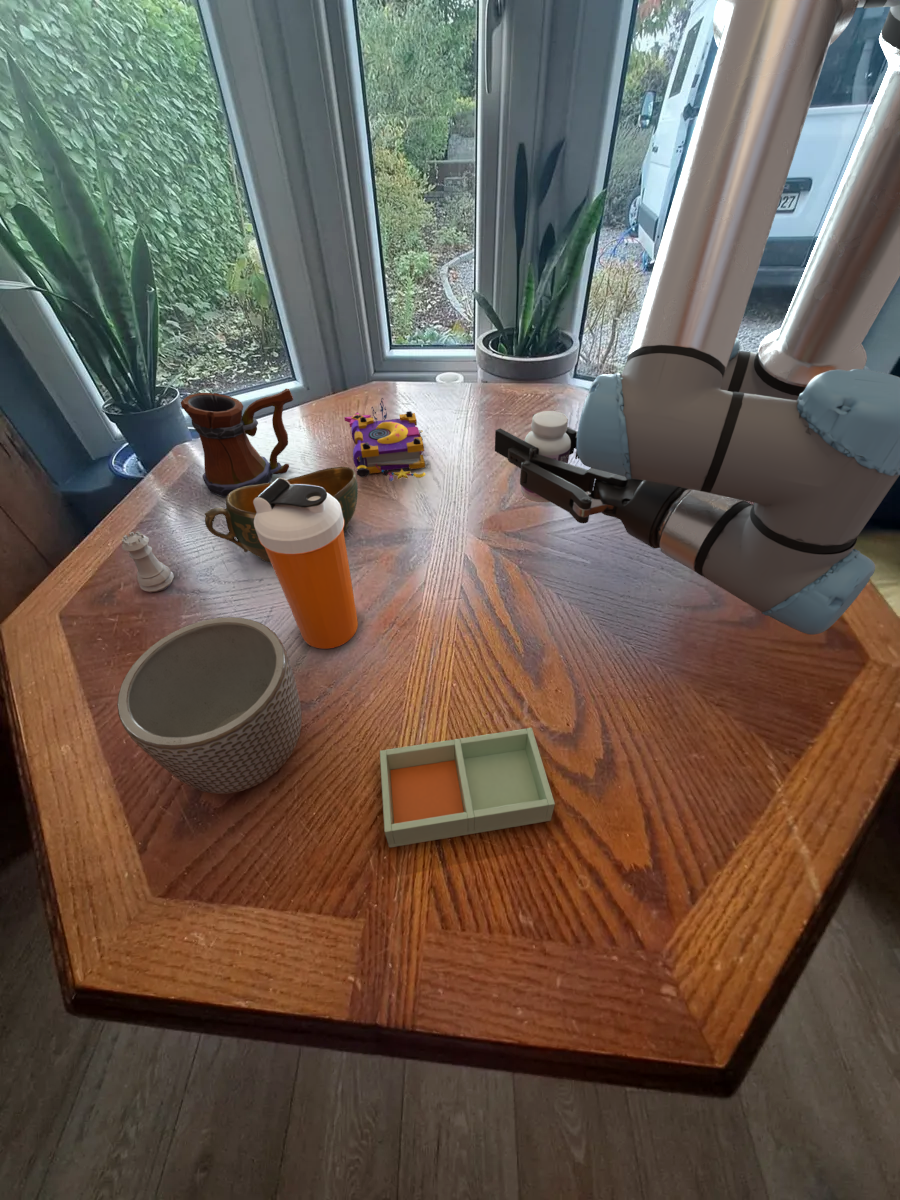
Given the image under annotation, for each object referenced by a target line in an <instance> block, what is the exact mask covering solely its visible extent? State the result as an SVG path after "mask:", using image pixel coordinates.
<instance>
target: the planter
mask: <svg viewBox="0 0 900 1200" xmlns="http://www.w3.org/2000/svg"><path fill="white" fill-rule="evenodd" d="M290 660H291V659H290V658H289V655H288V652H287V650H286V648H285V646H284V644H283V642H282V640H281V639H280V637H279V636H278V635H277V634H276V633H275V632H274V631H273V630H272V629H271V628H270V627H269V626H267V625H265V624H263V623H261V622H259V621H256V620H253V619H249V618H244V617H237V616H234V617H233V616H224V617H215V618H208V619H205V620H200V621H197V622H193V623H191V624H189V625H186V626H183V627H181V628H179V629H176V630H174V631H172V632H171V633H169V634H167V635H165V636H164V637H162V638H161V639H160V640H158V641H157V642H155V643H154V644H153V645H151V646H150V647H149V648H147V650H145V651H144V652H143V653H142V654H141V655H140V656H139V658H138V659H137V660H136V661H135V662H134V663H133V664H132V666H131V667H130V668H129V670H128V671H127V672H126V674H125V677H124V678H123V681H122V682H121V684H120V687H119V691H118V694H117V705H116V706H117V714H118V718H119V720H120V723H121V726H122V727H123V729H124V731H125V732H126V733H127V735H128V736H129V737H130V739H131V740H132V741H133V742H134V743H135V744H136V745H137V746H138V747H139V748H140V749H141V750H143V751H144V752H145V753H146V754H147V755H148V756H149V757H150V758H151V759H152V760H153V761H155V763H156V764H158V765H159V766H161V767H162V768H163V769H164V770H165V771H166V772H167V773H169V774H170V775H172V776H173V777H174V778H175V779H177V780H178V781H179V782H181V783H183V784H184V785H186V786H188V787H190V788H192V789H194V790H197V791H200V792H203V793H208V794H218V795H224V794H226V795H227V794H235V793H239V792H242V791H246V790H248V789H251V788H254V787H256V786H257V785H260V784H262V783H263V782H265V781H266V780H267V779H269V778H271V777H272V776H273V775H275V774H276V773H277V772H278V771H279V770H280V769H281V768H283V766H284V765H285V764H286V762H287V761H288V760H289V758H290V757H291V755H292V754H293V752H294V751H295V749H296V747H297V744H298V741H299V738H300V735H301V730H302V723H303V721H302V720H303V719H302V718H303V716H302V715H303V714H302V706H301V700H300V695H299V690H298V686H297V682H296V678H295V675H294V671H293V667H292V664H291V661H290Z"/></svg>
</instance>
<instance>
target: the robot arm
mask: <svg viewBox="0 0 900 1200" xmlns="http://www.w3.org/2000/svg"><path fill="white" fill-rule="evenodd" d="M857 8H862V9H874V8H875V9H876V8H889V10H888V13H887V16H886V18H885V21H884V23H883V26H882V29H881V31H880V35H879V38H878V41H879V44H880V47H881V49H882V51H883V54H884V56H885V58H886V60H887V66H888V67H887V70H886V72H885V75H884V77H883V80H882V82H881V85H880V86H879V90H878V92H877V95H876V97H875V99H874V102H873V104H872V106H871V109H870V111H869V114H868V117H867V118H866V121H865V124H864V126H863V128H862V131H861V133H860V136H859V138H858V140H857V142H856V145H855V147H854V150H853V152H852V155H851V158H850V160H849V162H848V165H847V167H846V170H845V172H844V174H843V177H842V179H841V181H840V184H839V187H838V189H837V191H836V194H835V195H834V199H833V201H832V204H831V206H830V209H829V211H828V213H827V215H826V218H825V221H824V223H823V225H822V228H821V230H820V233H819V234H818V238H817V240H816V242H815V245H814V247H813V250H812V251H811V254H810V257H809V259H808V262H807V264H806V267H805V269H804V270H803V271H804V272H803V274H802V277H801V279H800V281H799V283H798V286H797V288H796V290H795V293H794V296H793V297H792V301H791V303H790V306H789V307H788V311H787V313H786V315H785V317H784V320H783V322H782V324H781V327H780V328H779V329H776V330H774V331H773V332H771V333H769V334H768V335H766V336H765V337H764V338H763V339H762V341H761V342H760V344H759V346H758V349H757V352H755V351H746V350H740V349H741V345H740V339H739V338H738V334H739V331H740V328H741V324H742V322H743V317H744V316H745V315H744V314H745V313H746V308H747V305H748V302H749V299H750V296H751V293H752V290H753V286H754V283H755V280H756V277H757V274H758V271H759V267H760V265H761V261H762V258H763V255H764V252H765V249H766V245H767V243H768V239H769V236H770V233H771V230H772V228H773V223H774V220H775V217H776V214H777V212H778V207H779V205H780V202H781V199H782V195H783V192H784V189H785V185H786V183H787V179H788V176H789V174H790V170H791V167H792V163H793V161H794V157H795V154H796V151H797V147H798V145H799V141H800V138H801V135H802V132H803V129H804V127H805V124H806V123H805V122H806V119H807V117H808V113H809V111H810V110H809V109H810V107H811V103H812V102H813V101H812V100H813V98H814V94H815V92H816V88H817V85H818V81H819V78H820V75H821V72H822V70H823V66H824V64H825V63H824V62H825V60H826V57H827V53H828V50H829V47H830V46H831V45H832V44H833V43H835V41H837V39H838V38H839V37H840V36H841V35H842V34H843V33H844V31H845V30H846V29H847V27H848V26H849V24H850V22H851V20H852V19H853V17H854V15H855V13H856V11H857ZM712 21H713V22H712V31H713V37H714V40H715V44H716V46H717V50H716V53H715V56H714V58H713V59H714V60H713V64H712V67H711V70H710V74H709V77H708V79H707V83H706V87H705V90H704V93H703V98H702V99H701V100H702V101H701V104H700V108H699V111H698V114H697V117H696V121H695V125H694V128H693V131H692V134H691V137H690V141H689V145H688V148H687V152H686V155H685V158H684V161H683V165H682V169H681V171H680V176H679V179H678V183H677V186H676V189H675V193H674V196H673V200H672V203H671V206H670V210H669V213H668V217H667V220H666V223H665V227H664V229H663V234H662V237H661V240H660V244H659V247H658V251H657V255H656V257H655V261H654V265H653V267H652V271H651V273H650V274H651V275H650V278H649V282H648V284H647V289H646V292H645V296H644V298H643V302H642V305H641V309H640V312H639V315H638V319H637V323H636V325H635V329H634V333H633V335H632V339H631V342H630V347H629V350H628V353H627V358H626V361H625V364H624V367H623V369H622V371H621V373H620V372H615V373H611V374H610V373H602V374H600V375H598V376H596V378H595V379H594V380H593V381H592V382H591V385H590V386H589V390H588V394H587V395H586V397H585V399H584V402H583V406H582V409H581V413H580V416H579V417H580V418H579V422H578V428H577V430H575V429H574V428H571V427H569V426H567V431H566V433H567V434H568V436H569V438H570V440H571V448H570V454H569V456H570V455H573V454H574V453H575V457H574V460H577V459H578V460H580V462H581V464H583V466H585V467H588V468H589V469H587V468H583V467H580V466H577V465H574V464H570V463H569V462H568V463H564V462H561V461H558V460H555V459H552V458H549V457H546V456H542V455H539V448H537V447H535V446H533V445H531V444H529V443H527V442H525V441H524V439H521V438H519V437H517V436H516V435H514V434H512V433H510V432H508V431H506V430H504V429H502V428H501V427H500V428H498V429H495V430H494V431H495V433H494V452H495V453H497V454H498V455H501V456H502V457H504V458H505V459H507V461H508V462H509V463H510V464H512V465H514V466H515V467H517V468H519V469H520V475H519V477H520V478H519V485H520V487H521V486H523V487H525V488H527V489H528V490H530V491H532V492H534V493H536V494H537V495H539V496H541V497H543V498H544V499H546V500H548V501H550V502H549V503H551V504H553V505H554V506H556V507H558V508H559V509H561V510H564V511H566V512H567V513H569V515H570V516H571V517H573V519H574V520H575V521H576V522H577V523H579V524H587V523H588V522H589V519H590V516H593V515H597V514H603V515H604V516H606V517H611V518H615V519H618V520H619V521H621V524H622V525H623V527H624V529H625V531H626V533H627V534H628V535H629V536H631V537H633V538H634V539H636V540H638V541H640V542H642V544H645V545H647V546H648V547H650V548H652V549H659V551H660V552H661V553H662V554H663V555H665V556H666V557H668V558H670V559H672V560H674V561H675V562H677V563H679V564H680V565H682V566H684V567H686V568H688V569H689V570H691V571H693V572H695V573H696V574H698V575H699V576H701V577H703V578H705V579H706V580H708V581H709V582H711V583H713V584H714V585H716V586H718V587H719V588H721V589H722V590H724V591H726V592H727V593H729V594H731V595H733V596H734V597H736V598H738V599H740V600H742V601H743V602H744V603H745V604H747V605H749V606H751V607H752V608H754V609H756V610H758V611H759V612H761V615H764V616H767V617H769V618H772V619H774V620H775V621H778V622H779V623H781V624H783V625H785V626H788V627H789V628H792V629H794V630H795V631H798V632H800V633H802V634H805V635H810V636H811V635H819V634H822V633H825V632H826V631H827V630H829V629H830V628H831V627H832V626H833V625H834V624H835V623H836V622H838V620H839V619H840V618H841V617H842V616H843V615H844V614H845V613H846V611H847V610H848V609H849V608H850V607H851V605H852V604H853V603H854V602H855V600H856V599H857V598H858V597H859V596H860V594H861V593H862V592H863V590H864V589H865V588H866V586H867V585H868V584H869V582H870V580H871V578H872V577H873V575H874V573H875V571H876V564H875V562H874V561H873V560H872V559H871V558H869V557H868V556H866V555H865V554H864V553H861V551H860V550H858V549H856V548H855V546H856V544H857V541H858V537H859V535H860V534H861V532H862V531H863V530H864V528H865V526H866V525H867V523H868V522H869V521H870V519H871V518H872V516H873V514H874V513H875V512H876V510H877V508H878V507H879V506H880V505H881V503H882V501H883V500H884V498H885V497H886V496H887V494H889V493H888V492H889V491H890V489H891V488H892V487H893V486H894V484H895V483H896V481H897V480H898V479H899V477H900V376H897V375H893V374H891V373H886V372H882V371H877V370H871V369H870V367H868V366H867V359H868V355H867V351H866V350H865V348H864V345H863V344H862V343H863V342H864V340H865V338H866V337H867V335H868V333H869V331H870V329H871V328H872V326H873V324H874V322H875V321H876V319H877V317H878V315H879V313H880V312H881V310H882V308H883V307H884V305H885V303H886V302H887V299H888V298H889V296H890V295H891V292H892V291H893V290H894V287H895V286H896V283H897V282H898V280H899V278H900V0H716V5H715V9H714V13H713V20H712ZM535 414H536V413H534V414H532V417H533V416H534V415H535ZM530 431H532V429H531V430H530Z"/></svg>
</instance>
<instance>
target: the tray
mask: <svg viewBox="0 0 900 1200" xmlns="http://www.w3.org/2000/svg"><path fill="white" fill-rule="evenodd" d="M537 743H538V742H537V740H536V736H535V734H534V730H533V727H527V728H521V729H513V730H507V731H501V732H494V733H488V734H487V733H486V734H480V735H475V736H468V737H461V738H455V739H448V740H441V741H435V742H434V741H433V742H428V743H422V744H414V745H407V746H402V747H394V748H388V749H387V748H386V749H381V750H379V762H380V763H379V764H380V779H381V780H380V782H381V796H382V813H383V815H382V816H383V829H384V836H385V839H386V843H387V845H388V848H389V849H390V848H396V847H402V846H407V845H408V846H409V845H413V844H420V843H425V842H432V841H436V840H444V839H450V838H455V837H461V836H467V835H473V834H478V833H479V834H480V833H485V832H491V831H498V830H503V829H509V828H515V827H521V826H526V825H532V824H533V825H534V824H539V823H546V822H551V821H552V817H553V813H554V809H555V806H556V803H555V799H554V796H553V793H552V790H551V786H550V783H549V780H548V776H547V773H546V770H545V766H544V764H543V759H542V757H541V752H540V750H539V747H538V744H537Z"/></svg>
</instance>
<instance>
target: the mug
mask: <svg viewBox="0 0 900 1200" xmlns="http://www.w3.org/2000/svg"><path fill="white" fill-rule="evenodd" d="M292 401H294V396H293V394H292V392H291V390H290V389H289V388H285V389H283V390H282V391H280V392H278V393H276V394H273V395H269V396H265V397H261V398H259V399H257V400H255V401H253V402H252V403H250V404H249V405H248V406H247V407H246V408H245V410H244V405H243V402H242V401H241V400H239V399H237V398H235V397H232V396H229V395H227V394H221V393H218V392H217V393H216V392H214V393H213V392H197V393H193V394H192V393H191V394H189V395H187V396H185V397H184V398H183V399H182V400H181V401H180V402H179V403H180V406H181V408H182V409H183V410H184V411H185V413H186V414H187V415H188V416H189V418H190V419H191V426H192V427H193V429H194V431H196V433H198V436H199V439H200V442H201V446H202V452H203V459H204V460H203V461H204V473H203V475H202V481H203V482H204V484H205V486H206V488H207V489H208V491H209V492H210V493H212V494H214V495H216V496H218V497H219V496H220V497H222V498H227V495H228V494H229V493H230V492H231V491H233V490H235V489H237V488H241V487H245V486H251V485H258V484H265V483H271V480H272V477H273V475H281V474H286V473H287V472H288V470H289V468H290V464H289V463H284V464H283V465H282V464H281V462H278V456H279V455H280V454H281V453H283V451H284V450H285V449H286V448H287V446H288V445H289V436H288V432H287V430H286V427H285V424H284V422H283V411H284V405H285V404H288V403H291V402H292ZM269 407H274V408H273V409H274V410H273V413H272V418H271V419H272V422H271V423H272V428H273V432H274V435H275V438H276V440H277V443H276V445H275V446H274V447H273V449H272V450H271V451H270V455H269V461H268V459H267V458H266V457H265V456H262V455H260V453H259V452H258V451H257V450H256V448H255V447H254V446H253V444H252V443H251V441H250V439H249V437H248V436H250V437H255V436H256V435H257V432H258V425H259V422H258V420H257V419H256V418H255V417H254V416H255V413H257V412H259V411H261V410H263V409H266V408H269ZM243 410H244V412H243Z"/></svg>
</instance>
